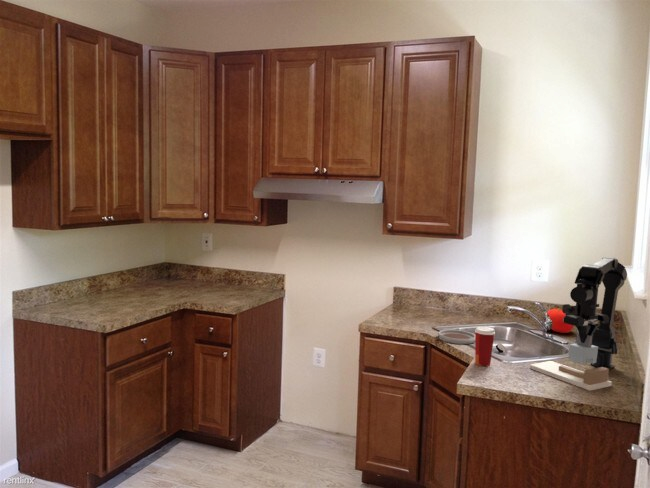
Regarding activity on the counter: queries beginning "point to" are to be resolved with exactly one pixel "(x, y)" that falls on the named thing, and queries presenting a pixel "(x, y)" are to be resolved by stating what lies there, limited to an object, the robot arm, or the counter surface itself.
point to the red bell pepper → (559, 321)
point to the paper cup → (483, 345)
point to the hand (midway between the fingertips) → (584, 342)
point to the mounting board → (575, 375)
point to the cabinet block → (583, 351)
